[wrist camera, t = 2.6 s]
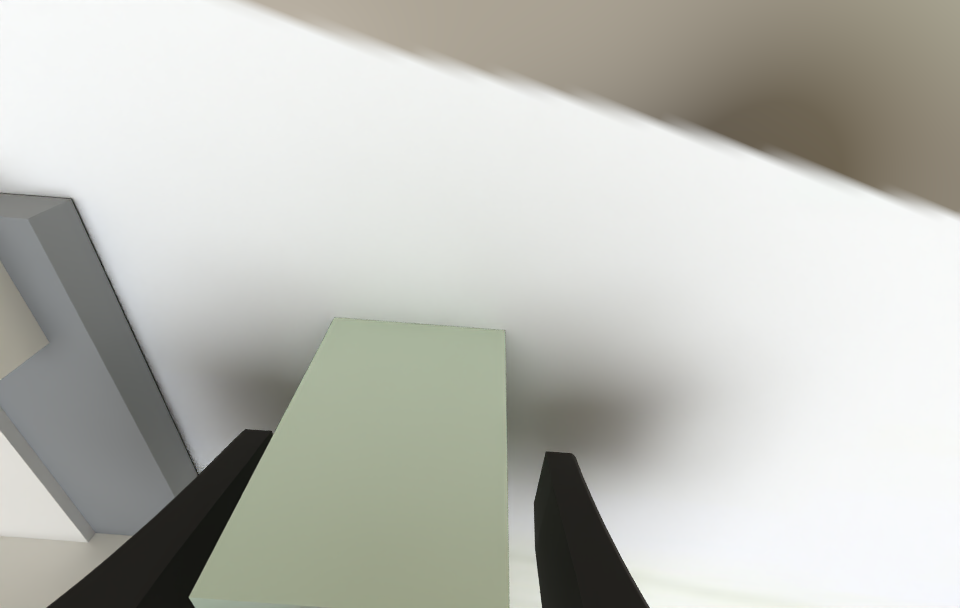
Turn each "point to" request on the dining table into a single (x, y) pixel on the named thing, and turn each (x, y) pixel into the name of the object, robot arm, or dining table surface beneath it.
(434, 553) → the module block
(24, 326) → the mounted modules
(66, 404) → the mounting board
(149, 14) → the dining table surface
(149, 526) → the robot arm
